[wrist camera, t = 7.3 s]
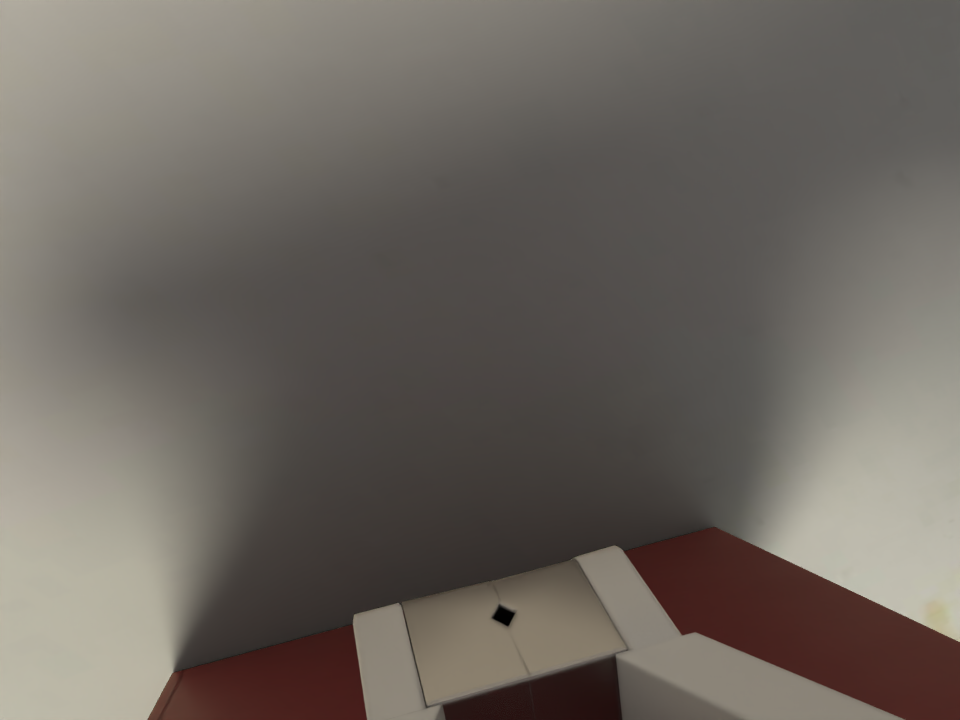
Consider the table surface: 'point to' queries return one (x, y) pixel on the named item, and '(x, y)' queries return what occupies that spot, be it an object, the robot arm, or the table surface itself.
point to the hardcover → (692, 608)
